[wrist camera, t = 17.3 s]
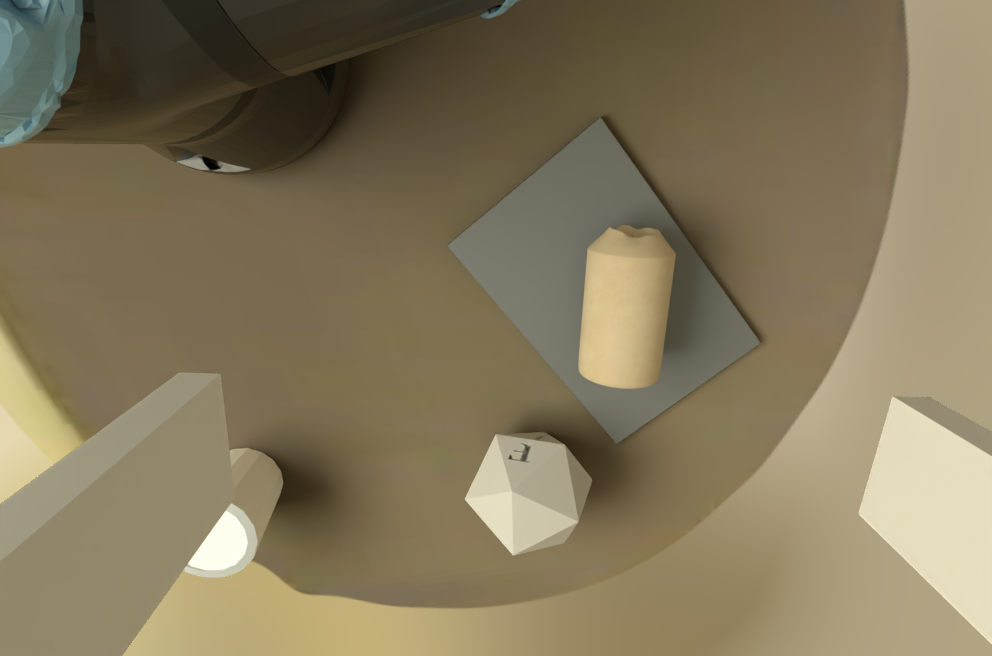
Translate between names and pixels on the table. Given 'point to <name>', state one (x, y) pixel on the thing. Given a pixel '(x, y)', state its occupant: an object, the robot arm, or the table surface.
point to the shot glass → (240, 516)
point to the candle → (625, 307)
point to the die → (529, 491)
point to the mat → (562, 267)
